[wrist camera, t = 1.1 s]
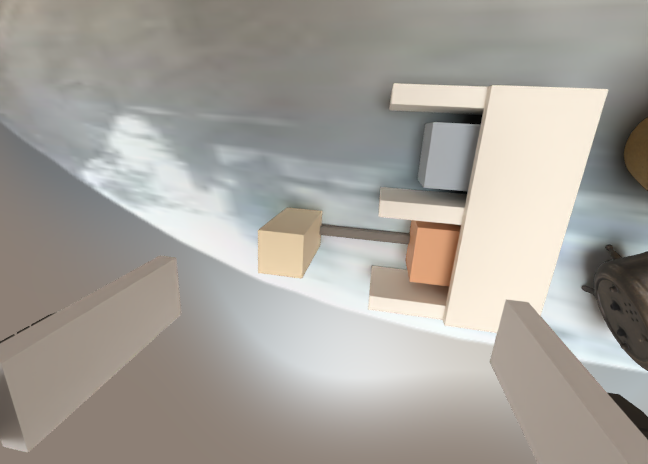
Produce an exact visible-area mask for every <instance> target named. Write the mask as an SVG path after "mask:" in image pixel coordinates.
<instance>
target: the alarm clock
mask: <svg viewBox="0 0 648 464" xmlns="http://www.w3.org/2000/svg"><path fill="white" fill-rule="evenodd" d="M606 249H607V250H608V251H609V252H610V254H611V256H612V258H613V260H611V261H607V262H605V263H603V264H601V265H600V266H599V268H598V269H597V271H596V273H595V277H594V289H593V288H590V287H587V286H583V287H582V289H583V290H584V291H586V292H589V293H591V294H593V295H594V296H595V298H596V299H597V302H598V305H599V308H600V311H601V313H602V315H603V317H604V320H605V322H606V324H607V325H608V327H609V329H610V331H611V332H612V334H613V336H614V337H615V339H616V340H617V341H618V343H619V344H620V346H621V348H622V349H624V350H625V352H626V353H627V354H628V355H629V356H630V357H631V358H632V359H633V360H634V361H635V362H636V363H637V364H639V365H640V366H641V367H642V368H644V369H645V370H647V371H648V252H644V253H641V254H637V255H633V256H628V257H624V258H622V257H621V256H620V255H619V254H618V253H617V252H616V251H615V250H614V249H613V246H612V245H607V246H606Z"/></svg>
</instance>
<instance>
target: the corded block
mask: <svg viewBox="0 0 648 464" xmlns="http://www.w3.org/2000/svg"><path fill="white" fill-rule="evenodd" d="M460 229H461V225H457V224H446V223H436V222H426V221H416V220H411V226H410V233H409V234H407V233H397V232H387V231H378V230H368V229H358V228H349V227H339V226H329V225H322V211H318V210H308V209H298V208H288V207H287V208H286V209H284V210H283V211H282V212H281V213H279V214H278V215H277V216H275V217H274V218H273V219H272V220H270V221H269V222H268V223H266V224H265V225H264V226H263V227H261V228H260V229H259V230H258V273H263V274H271V275H279V276H287V277H294V278H303V276H304V274H305V272H306V270H307V268H308V267H309V265H310V263H311V261H312V259H313V258H314V256H315V254H316V252H317V250H318V249H319V247H320V243H321V235H327V236H336V237H346V238H355V239H364V240H373V241H383V242H392V243H401V244H408V247H407V254H406V266H407V271H408V276H409V281H410V282H417V283H425V284H433V285H441V286H450V280H451V275H452V270H453V265H454V260H455V255H456V250H457V244H458V239H459V234H460Z"/></svg>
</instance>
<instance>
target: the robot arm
mask: <svg viewBox="0 0 648 464" xmlns="http://www.w3.org/2000/svg"><path fill="white" fill-rule="evenodd" d="M180 315H181V305H180V295H179V283H178V272H177V261H176V258H175V257H167V256H158V257H156V258H155V259H153V260H151V261H149V262H147V263H145V264H144V265H142V266H140V267H138V268H136V269H135V270H133V271H131V272H129V273H127V274H126V275H124V276H122V277H120V278H118V279H116V280H115V281H113V282H111V283H109V284H108V285H106V286H104V287H102V288H100V289H98V290H96V291H95V292H93V293H91V294H89V295H87V296H86V297H84V298H82V299H80V300H78V301H77V302H75V303H73V304H71V305H69V306H67V307H66V308H64V309H62V310H60V311H59V312H56V313H53V314H50V315H48V316H46V317H44V318H42V319H41V320H39V321H37V322H35V323H33V324H32V325H31V327H29V326H28V327H26V328H24V329H23V330H21V331H19V332H17V334H16V335H11V336H10V337H8V338H6V339H4V340H2V341H0V439H1V442H2V445H3V447H7V448H11V449H15V450H19V451H24V452H29V451H31V450H32V449H33V448H34V447H35V446H36V445H37V444H38V443H39V442H40V441H42V440H43V439H44V438H45V437H46V436H47V435H48V434H49V433H50V432H52V430H54V429H55V428H56V427H57V426H58V425H59V424H60V423H62V422H63V421H64V420H65V419H66V418H67V417H68V416H69V415H70V414H72V413H73V412H74V411H75V410H76V409H77V408H78V407H79V406H80V405H81V404H83V403H84V402H85V401H86V400H87V399H88V398H89V397H90V396H91V395H92V394H94V393H95V392H96V391H97V390H98V389H99V388H100V387H101V386H102V385H104V384H105V383H106V382H107V381H108V380H109V379H110V378H111V377H113V376H114V375H115V374H116V373H117V372H118V371H119V370H120V369H121V368H122V367H124V365H126V364H127V363H128V362H129V361H130V360H131V359H132V358H133V357H135V356H136V355H137V354H138V353H139V352H140V351H141V350H142V349H144V348H145V347H146V346H147V345H148V344H149V343H150V342H151V341H152V340H153V339H155V338H156V337H157V336H158V335H159V334H160V333H161V332H162V331H163V330H164V329H166V328H167V327H168V326H169V325H170V324H171V323H172V322H173V321H174V320H176V318H178V317H179V316H180ZM490 364H491V366H492V368H493V370H494V372H495V374H496V376H497V378H498V380H499V383H500V385H501V387H502V389H503V391H504V393H505V395H506V398H507V400H508V402H509V403H510V406H511V408H512V410H513V412H514V414H515V416H516V419H517V421H518V423H519V425H520V427H521V429H522V431H523V434H524V436H525V438H526V440H527V442H528V444H529V446H530V448H531V450H532V453H533V455H534V457H535V459H536V461H537V463H538V464H648V417H647V416H646V415H645V414H644V412H642V411H641V410H640V409H638V408H637V407H635V406H634V405H633V404H632V403H630V402H629V401H627V400H626V399H625V398H623V397H622V396H621V395H619V394H613V393H607V392H606V391H605V390H604V389H603V388H602V387H601V385H600V384H599V383H598V382H597V381H596V380H595V378H594V377H593V376H592V375H591V374H590V373H589V372H588V370H587V369H586V368H585V367H584V366H583V365H582V363H581V362H580V361H579V360H578V359H577V358H576V357H575V355H574V354H573V353H572V352H571V351H570V350H569V348H568V347H567V346H566V345H565V344H564V343H563V342H562V340H561V339H560V338H559V337H558V336H557V335H556V333H555V332H554V331H553V330H552V329H551V328H550V327H549V325H548V324H547V323H546V322H545V321H544V320H543V318H542V317H541V316H540V315H539V314H538V313H537V312H536V310H535V309H534V308H533V307H532V306H531V305H530V303H529V302H523V301H515V300H507V299H506V301H505V304H504V308H503V312H502V316H501V320H500V324H499V328H498V332H497V336H496V339H495V343H494V347H493V351H492V355H491V359H490Z"/></svg>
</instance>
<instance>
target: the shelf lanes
mask: <svg viewBox="0 0 648 464" xmlns="http://www.w3.org/2000/svg"><path fill="white" fill-rule="evenodd" d="M607 93H608V89H587V88H559V87H531V86H504V85H491V86H489V87H478V86H451V85H424V84H397V83H394V84H393V88H392V92H391V99H390V108H389V110H393V111H414V112H434V113H454V114H475V115H483V116H482V121H481V126H480V132H479V137H478V142H477V147H476V152H475V157H474V162H473V167H472V173H471V178H470V183H469V188H468V193H467V194H459V193H447V192H435V191H423V190H411V189H399V188H387V187H381V189H380V198H379V217H385V218H395V219H405V220H416V221H426V222H436V223H446V224H457V225H461V229H460V234H459V239H458V244H457V250H456V255H455V260H454V265H453V270H452V275H451V280H450V286H441V285H433V284H425V283H417V282H410V281H409V276H408V271H407V270H404V269H396V268H388V267H379V266H372V270H371V280H370V292H369V305H368V310H375V311H383V312H390V313H397V314H404V315H411V316H418V317H425V318H433V319H440V320H443V322H444V325H445V326H452V327H459V328H466V329H473V330H480V331H487V332H494V333H497V332H498V328H499V324H500V320H501V316H502V312H503V308H504V304H505V301H506V299H507V300H515V301H523V302H529V303H530V305H531V306H532V307H533V308H534V309H535V310H536V312H537V313H538V314H539V315H540V316H541V313H542V309H543V306H544V303H545V299H546V296H547V293H548V289H549V286H550V283H551V279H552V276H553V273H554V269H555V266H556V263H557V259H558V256H559V253H560V249H561V246H562V243H563V239H564V236H565V233H566V229H567V226H568V223H569V219H570V216H571V213H572V209H573V206H574V203H575V199H576V196H577V193H578V189H579V186H580V183H581V179H582V176H583V173H584V169H585V166H586V163H587V159H588V156H589V153H590V149H591V146H592V143H593V139H594V136H595V133H596V129H597V126H598V123H599V119H600V116H601V113H602V109H603V106H604V103H605V99H606V96H607Z"/></svg>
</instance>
